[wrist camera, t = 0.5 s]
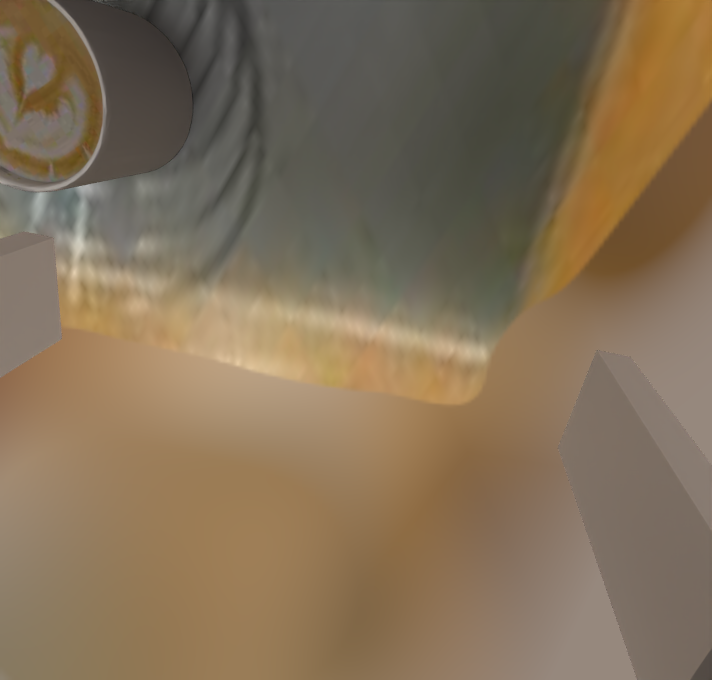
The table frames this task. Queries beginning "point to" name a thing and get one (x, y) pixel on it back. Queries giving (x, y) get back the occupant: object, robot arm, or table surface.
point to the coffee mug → (86, 95)
